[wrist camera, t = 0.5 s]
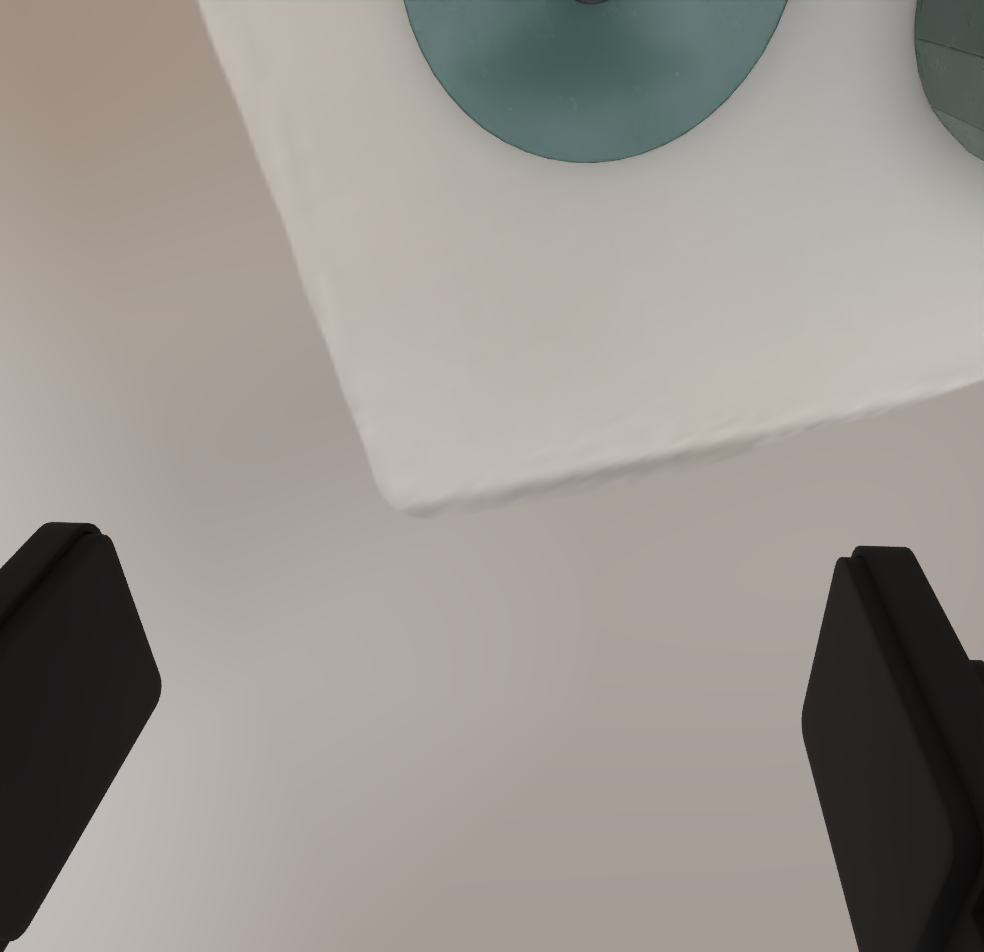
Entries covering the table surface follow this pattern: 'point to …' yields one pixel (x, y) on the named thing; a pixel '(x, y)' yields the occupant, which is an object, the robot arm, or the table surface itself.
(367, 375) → the table surface
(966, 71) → the pot
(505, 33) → the lid
